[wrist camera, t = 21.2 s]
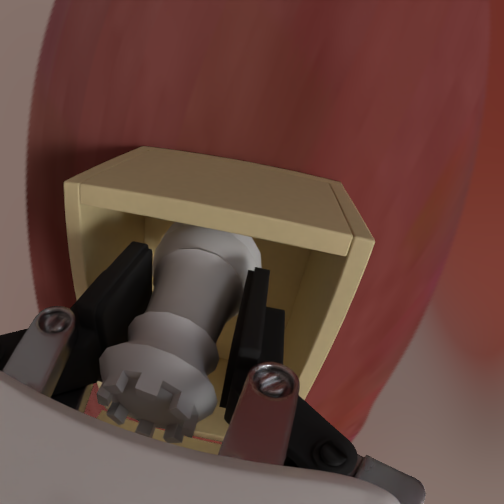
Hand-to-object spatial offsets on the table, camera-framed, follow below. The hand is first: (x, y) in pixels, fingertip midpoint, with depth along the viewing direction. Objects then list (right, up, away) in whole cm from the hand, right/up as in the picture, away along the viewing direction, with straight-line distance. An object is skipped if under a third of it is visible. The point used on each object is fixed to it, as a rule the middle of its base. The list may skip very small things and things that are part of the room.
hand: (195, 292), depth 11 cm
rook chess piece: (0, +1, +3) cm, 3 cm away
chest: (0, 0, +8) cm, 8 cm away
